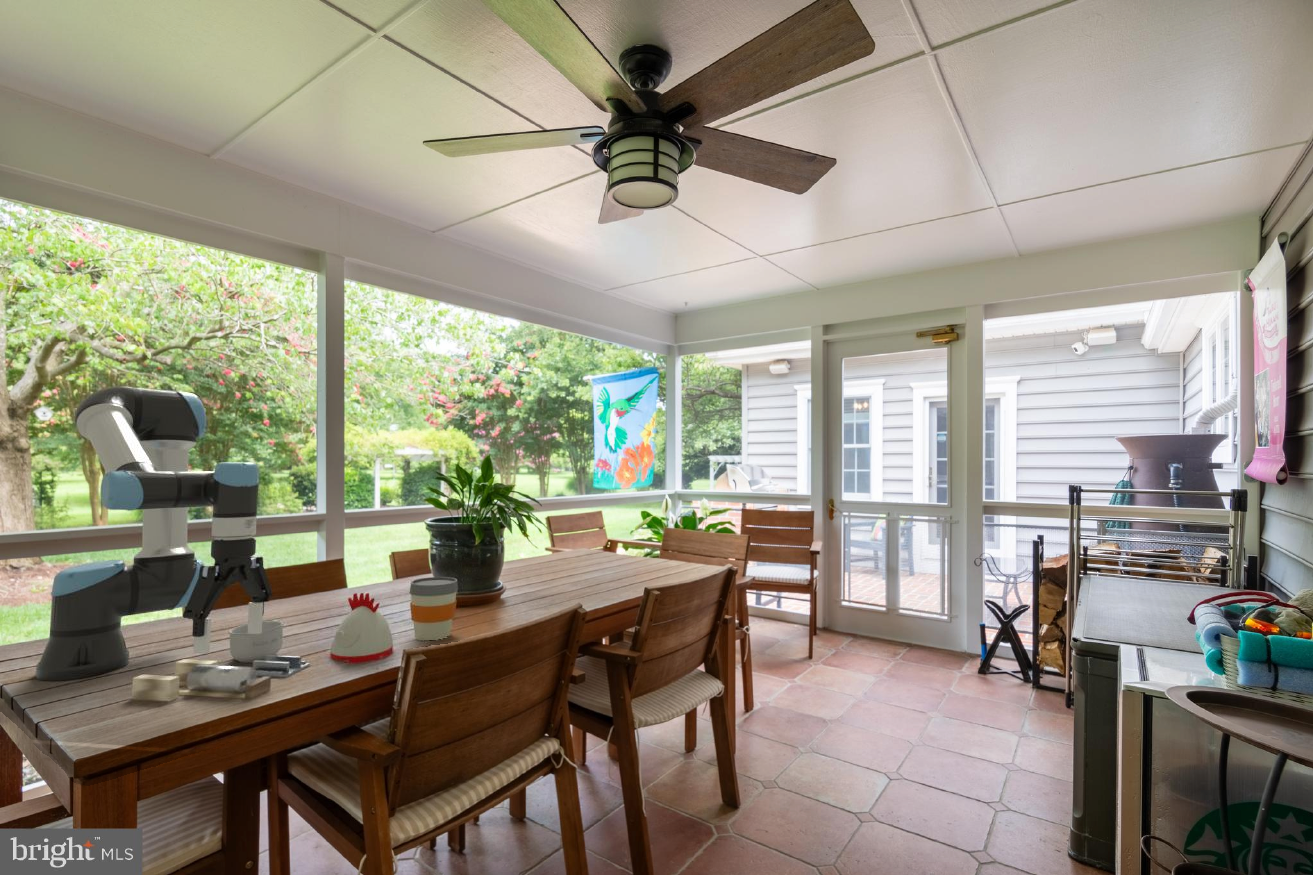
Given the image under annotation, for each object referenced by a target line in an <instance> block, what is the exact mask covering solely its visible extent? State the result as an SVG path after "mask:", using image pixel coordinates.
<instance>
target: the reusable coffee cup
mask: <svg viewBox="0 0 1313 875" xmlns="http://www.w3.org/2000/svg"><path fill="white" fill-rule="evenodd" d="M458 591H459V586H458V579H457V578H455V577H449V576H432V577H431V576H430V577H421V578H416V579H414V580H411V581H410V587H409V594H410V599H411V601H410V603H409V606H410V608H409V609H410V617H411V621H412V622H413V630H414V638H416V639H415V640H417V641H420V640H423V641H422V642H425V641H424V640H436V641H438V640H437V639H441V638H445V639H447V638H448V637H447V636H449V635H451V630H452V624H453V623H452V622H453V618H455V616H456V615H455V613H456V607H457V602H458V601H457V592H458ZM446 637H447V638H446ZM449 637H450V636H449ZM441 640H442V639H441Z"/></svg>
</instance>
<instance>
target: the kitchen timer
mask: <svg viewBox="0 0 1313 875" xmlns="http://www.w3.org/2000/svg"><path fill="white" fill-rule="evenodd" d="M352 595H353V597H348V598H347V601H348V605H349V606H350V609H351V611H350V612H349V613H347V615H346V616H345V617H344V618H343V619H342V621H341V622H340V624H339V625H338V628H337V630H336V633H335V635H334V638H333V641H332V643H331V647H330V655H329V657H330V658H331V659H332V660H335V661H340V662H341V661H342V662H344V664H361V663H369V662H373V661H379V660H381V659H384V658H386V657H388V656H391V654H392V653H393V651H394V650H393V649H394V644H393V640H394V639H393V635H392V632H391V628H390V625H389V623H388V621H387V620H386V618H385V616H384V615H383V614H382V613H381V612H380V611H379V610H378V609H379V607H380V604H381V603H380V602H377V603H376V604H375V606H374V603H375V597H373V598H370V593H369V592H367V593H365V595H364V592H362V593H361V592H360V593H359V597H358V593H357V592H355V593H353V594H352Z"/></svg>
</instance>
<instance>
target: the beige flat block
mask: <svg viewBox="0 0 1313 875" xmlns="http://www.w3.org/2000/svg"><path fill="white" fill-rule="evenodd" d="M219 662H220V661H219V660H207V659H186V658H183V659H181V660H177V661H176V662H175V669H174V671H175V672H174V676H173V675H159V674H141V675H137V676H135V677H132V689H131V700H140V701H141V700H142V701H157V702H171V701H174V700H175V699H178V698H179V695H180V696H194V697H213V698H214V697H215V698H231V699H248V700H250V699H255V698H256V697H259V696H260V695H263V694H264V693H266V692H268V691H270V690H271V683H272V679H271V678H272V677H265V676H264V677H260V678H257V679H256V681H253V682H251V683H249V684H247V685H245V693H229V692H211V691H192V690H189V689H180V687H183V688H187V685H186V681H187V677H188V674H189V673H190V671H191V670H192V669H193V668H194V667H195V666H197V665H218V666H219V664H220V663H219Z"/></svg>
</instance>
